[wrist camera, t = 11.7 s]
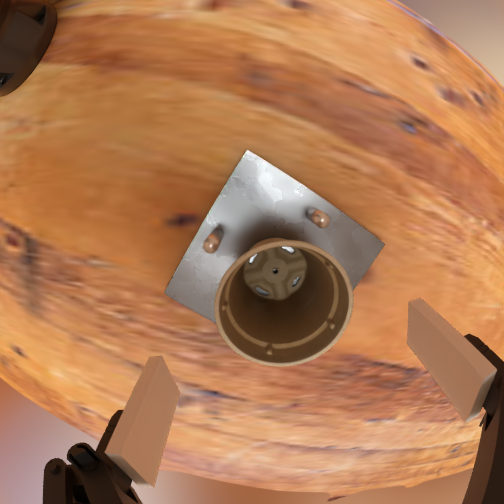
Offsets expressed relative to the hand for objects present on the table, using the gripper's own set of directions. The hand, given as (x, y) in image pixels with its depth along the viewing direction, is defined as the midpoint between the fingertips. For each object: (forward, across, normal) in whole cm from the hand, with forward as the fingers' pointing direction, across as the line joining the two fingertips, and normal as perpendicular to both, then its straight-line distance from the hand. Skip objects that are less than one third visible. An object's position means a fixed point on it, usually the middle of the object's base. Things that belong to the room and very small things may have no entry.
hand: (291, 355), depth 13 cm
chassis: (+15, 0, 0) cm, 15 cm away
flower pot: (+14, 0, 0) cm, 14 cm away
